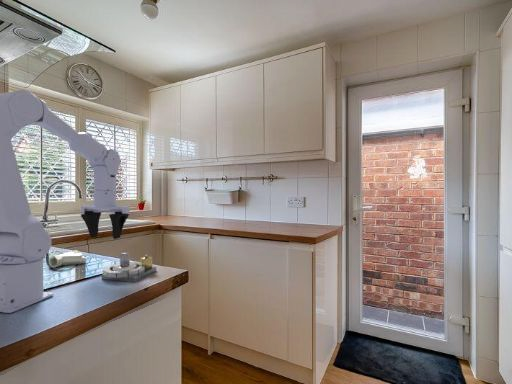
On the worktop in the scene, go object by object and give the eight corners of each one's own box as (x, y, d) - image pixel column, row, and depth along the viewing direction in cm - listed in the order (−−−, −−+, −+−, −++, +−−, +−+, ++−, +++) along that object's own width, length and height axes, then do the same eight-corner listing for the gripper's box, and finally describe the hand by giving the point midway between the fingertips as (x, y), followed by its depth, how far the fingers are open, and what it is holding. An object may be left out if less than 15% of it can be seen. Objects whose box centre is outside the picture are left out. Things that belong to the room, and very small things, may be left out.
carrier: (132, 283, 72) (132, 264, 71) (94, 280, 74) (94, 261, 74) (156, 270, 82) (156, 253, 82) (122, 268, 85) (122, 251, 85)
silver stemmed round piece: (125, 275, 74) (125, 257, 74) (107, 273, 76) (107, 255, 76) (141, 269, 80) (141, 252, 80) (124, 267, 82) (124, 250, 81)
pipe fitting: (88, 263, 91) (72, 260, 93) (89, 252, 91) (72, 249, 93) (66, 271, 84) (48, 267, 85) (66, 258, 83) (49, 254, 85)
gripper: (136, 190, 83) (136, 236, 84) (94, 190, 86) (94, 234, 87) (120, 191, 76) (120, 240, 77) (75, 190, 79) (75, 238, 80)
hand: (105, 237), depth 81 cm, fingers open, 7 cm apart
